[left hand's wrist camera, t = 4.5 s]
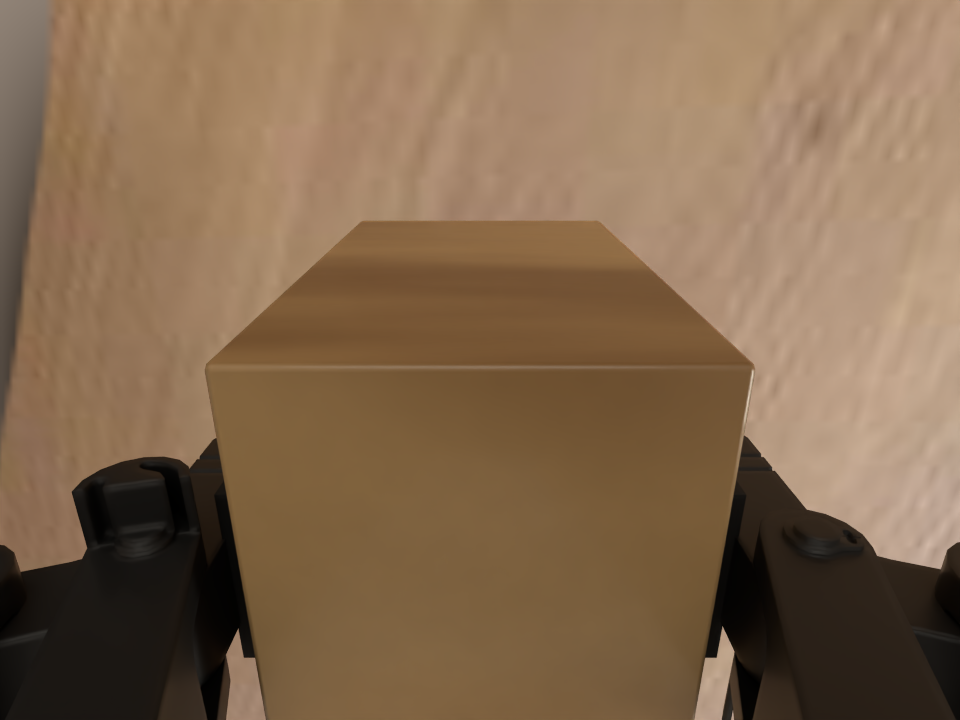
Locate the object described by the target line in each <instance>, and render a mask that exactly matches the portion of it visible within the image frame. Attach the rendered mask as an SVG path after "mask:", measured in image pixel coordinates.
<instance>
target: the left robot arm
mask: <svg viewBox="0 0 960 720" xmlns="http://www.w3.org/2000/svg"><path fill="white" fill-rule="evenodd" d="M72 495H73V499H74V502H75V506H76V509H77V513H78V516H79V520H80V524H81V527H82V531H83V534H84V538H85V541H86V545H87V550H86V552H85V554H84V556H83V558H82V559H81V560H77V561H73V562H69V563H64V564H59V565H54V566H49V567H44V568H39V569H34V570H29V571H24V572H20V569H19V566H18V563H17V560H16V557H15V554H14V552H13V551H11V550H10V549H9V548H7V547H6V546H4V545H0V720H226V714H227V706H228V697H229V689H230V675H229V668H228V663H227V658H226V653H227V651H228V649H229V647H230V645H231V643H232V640H233V638H234V636H235V634H236V632H237V630H238V628H239V634H240V639H241V645H242V650H243V655H244V658H255V654H254V648H253V642H252V637H251V631H250V625H249V620H248V614H247V608H246V603H245V597H244V591H243V585H242V580H241V574H240V568H239V563H238V557H237V551H236V546H235V540H234V534H233V528H232V523H231V517H230V511H229V506H228V500H227V494H226V489H225V483H224V477H223V471H222V466H221V460H220V454H219V449H218V443H217V438H215V439H214V440H213V441H212V442H211V443H210V444H209V446H208V447H207V448H206V449H205V450H204V452H203V453H202V454H201V455H200V459H197V460H196V462H195V463H194V464H193V465H192V466H191V468H190V469H189V467H188V466H187V465H186V464H184V463H183V462H182V461H180V460H177V459H173V458H168V457H143V458H138V459H133V460H129V461H124V462H120V463H117V464H115V465H112V466H109V467H107V468H104V469H101V470H99V471H97V472H96V473H94V474H92V475H91V476H89V477H87V478H86V479H84V480H82V481H81V483H80V484H79V485H78V486H77V487H76V488H75V489H74V490H73V491H72ZM722 626H723V628H724V630H725V632H726V634H727V636H728V638H729V641H730V643H731V645H732V647H733V649H734V651H735V653H734V658H733V663H732V668H731V673H730V678H729V683H728V688H727V694H726V699H725V704H724V709H723V716H722V720H731V717H732V712H733V713H734V720H960V542H959V543H956V544H955V545H953V546H952V547H951V548H949V549H948V550H947V553H946V556H945V559H944V562H943V565H942V568H941V569H936V568H931V567H926V566H921V565H916V564H911V563H906V562H901V561H896V560H891V559H887V558H883V557H879V556H877V555H876V553H875V551H874V549H873V547H872V546H871V544H870V543H869V542H868V541H867V539H866V538H865V537H864V536H863V534H861V533H860V532H858V531H857V530H855V529H854V528H852V527H851V526H850V525H848V524H847V523H845V522H843V521H840V520H838V519H836V518H833V517H831V516H829V515H826V514H823V513H819V512H814V511H810V510H807V509H806V508H805V507H804V506H803V505H802V503H801V502H800V501H799V500H798V499H797V497H796V496H795V495H794V494H793V492H792V491H791V490H790V489H789V488H788V486H787V485H786V484H785V483H784V481H783V480H782V479H781V478H780V477H779V475H778V474H777V473H776V472H775V471H772V467H771V466H770V464H769V463H768V462H767V461H766V459H765V458H764V457H761V453H760V452H759V451H758V450H757V448H756V447H755V446H754V445H753V444H752V442H751V441H750V440H749V439H748V438H747V437H746V436H744V438H743V444H742V449H741V455H740V461H739V466H738V472H737V478H736V484H735V489H734V495H733V501H732V506H731V512H730V518H729V524H728V529H727V535H726V541H725V546H724V552H723V558H722V564H721V569H720V575H719V581H718V586H717V592H716V598H715V603H714V609H713V615H712V621H711V626H710V632H709V638H708V643H707V649H706V655H705V658H717V652H718V647H719V642H720V636H721V631H722Z"/></svg>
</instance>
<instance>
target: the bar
mask: <svg viewBox="0 0 960 720" xmlns="http://www.w3.org/2000/svg"><path fill="white" fill-rule="evenodd" d="M205 375H206V380H207V386H208V392H209V397H210V403H211V409H212V414H213V420H214V426H215V432H216V437H217V443H218V449H219V454H220V460H221V466H222V471H223V477H224V483H225V489H226V494H227V500H228V506H229V511H230V517H231V523H232V528H233V534H234V540H235V546H236V551H237V557H238V563H239V568H240V574H241V580H242V585H243V591H244V597H245V603H246V608H247V614H248V620H249V625H250V631H251V637H252V642H253V648H254V654H255V659H256V665H257V671H258V677H259V682H260V688H261V694H262V699H263V705H264V711H265V716H266V720H694V718H695V712H696V706H697V701H698V695H699V689H700V683H701V678H702V672H703V666H704V661H705V655H706V649H707V643H708V638H709V632H710V626H711V621H712V615H713V609H714V603H715V598H716V592H717V586H718V581H719V575H720V569H721V564H722V558H723V552H724V546H725V541H726V535H727V529H728V524H729V518H730V512H731V506H732V501H733V495H734V489H735V484H736V478H737V472H738V466H739V461H740V455H741V449H742V444H743V438H744V432H745V426H746V421H747V415H748V409H749V404H750V398H751V392H752V386H753V381H754V375H755V367H754V364H753V363H752V362H751V361H750V360H749V359H748V358H746V357H745V356H744V355H743V354H742V353H741V352H740V351H739V350H738V349H737V348H736V347H735V346H733V345H732V344H731V343H730V342H729V341H728V340H727V339H726V338H725V337H724V336H723V335H722V334H720V333H719V332H718V331H717V330H716V329H715V328H714V327H713V326H712V325H711V324H710V323H709V322H707V321H706V320H705V319H704V318H703V317H702V316H701V315H700V314H699V313H698V312H697V311H696V310H695V309H693V308H692V307H691V306H690V305H689V304H688V303H687V302H686V301H685V300H684V299H683V298H682V297H680V296H679V295H678V294H677V293H676V292H675V291H674V290H673V289H672V288H671V287H670V286H669V285H667V284H666V283H665V282H664V281H663V280H662V279H661V278H660V277H659V276H658V275H657V274H656V273H654V272H653V271H652V270H651V269H650V268H649V267H648V266H647V265H646V264H645V263H644V262H643V261H641V260H640V259H639V258H638V257H637V256H636V255H635V254H634V253H633V252H632V251H631V250H630V249H629V248H627V247H626V246H625V245H624V244H623V243H622V242H621V241H620V240H619V239H618V238H617V237H616V236H614V235H613V234H612V233H611V232H610V231H609V230H608V229H607V228H606V227H605V226H604V225H603V224H601V223H600V222H599V221H362V222H360V223H359V224H358V225H357V226H356V227H355V228H354V229H353V230H352V231H351V232H350V233H348V234H347V235H346V236H345V237H344V238H343V239H342V240H341V241H340V242H339V243H338V244H336V245H335V246H334V247H333V248H332V249H331V250H330V251H329V252H328V253H327V254H326V255H324V256H323V257H322V258H321V259H320V260H319V261H318V262H317V263H316V264H315V265H314V266H313V267H311V268H310V269H309V270H308V271H307V272H306V273H305V274H304V275H303V276H302V277H301V278H299V279H298V280H297V281H296V282H295V283H294V284H293V285H292V286H291V287H290V288H289V289H288V290H286V291H285V292H284V293H283V294H282V295H281V296H280V297H279V298H278V299H277V300H276V301H274V302H273V303H272V304H271V305H270V306H269V307H268V308H267V309H266V310H265V311H264V312H262V313H261V314H260V315H259V316H258V317H257V318H256V319H255V320H254V321H253V322H252V323H251V324H249V325H248V326H247V327H246V328H245V329H244V330H243V331H242V332H241V333H240V334H239V335H237V336H236V337H235V338H234V339H233V340H232V341H231V342H230V343H229V344H228V345H227V346H225V347H224V348H223V349H222V350H221V351H220V352H219V353H218V354H217V355H216V356H215V357H214V358H212V359H211V360H210V361H209V362H208V363H207V364H206V368H205Z"/></svg>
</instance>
